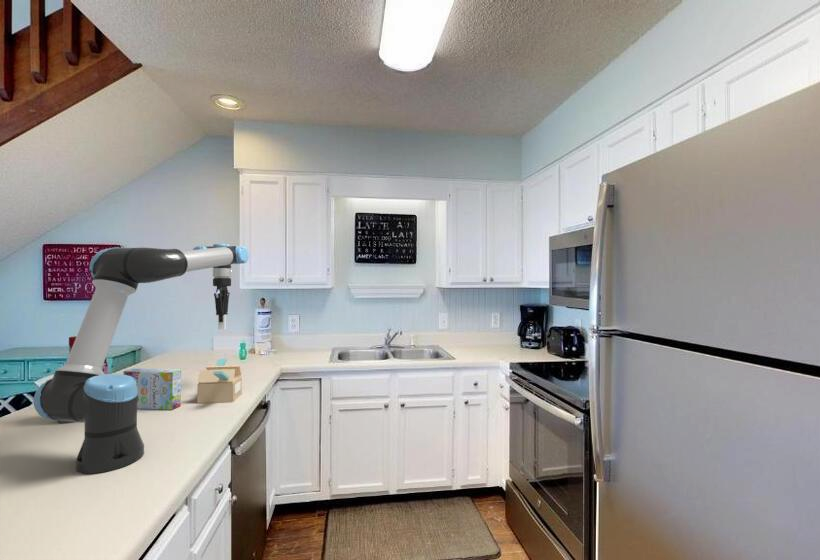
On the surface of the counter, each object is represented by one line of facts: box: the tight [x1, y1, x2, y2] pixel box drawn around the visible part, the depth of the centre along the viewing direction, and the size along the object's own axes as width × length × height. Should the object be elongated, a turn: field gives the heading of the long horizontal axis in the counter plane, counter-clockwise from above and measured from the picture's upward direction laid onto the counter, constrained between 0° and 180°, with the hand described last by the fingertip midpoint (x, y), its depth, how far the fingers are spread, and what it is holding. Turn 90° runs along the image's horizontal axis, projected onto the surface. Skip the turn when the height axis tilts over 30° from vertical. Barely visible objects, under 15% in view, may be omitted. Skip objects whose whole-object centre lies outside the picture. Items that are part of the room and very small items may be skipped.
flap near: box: [197, 369, 235, 384], centre depth 154 cm, size 5×14×10 cm
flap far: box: [205, 358, 243, 376], centre depth 170 cm, size 5×14×10 cm
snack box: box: [123, 367, 182, 411], centre depth 151 cm, size 21×6×15 cm, turn 84°
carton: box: [197, 375, 243, 404], centre depth 162 cm, size 11×14×8 cm
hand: (222, 329), depth 173 cm, fingers closed
